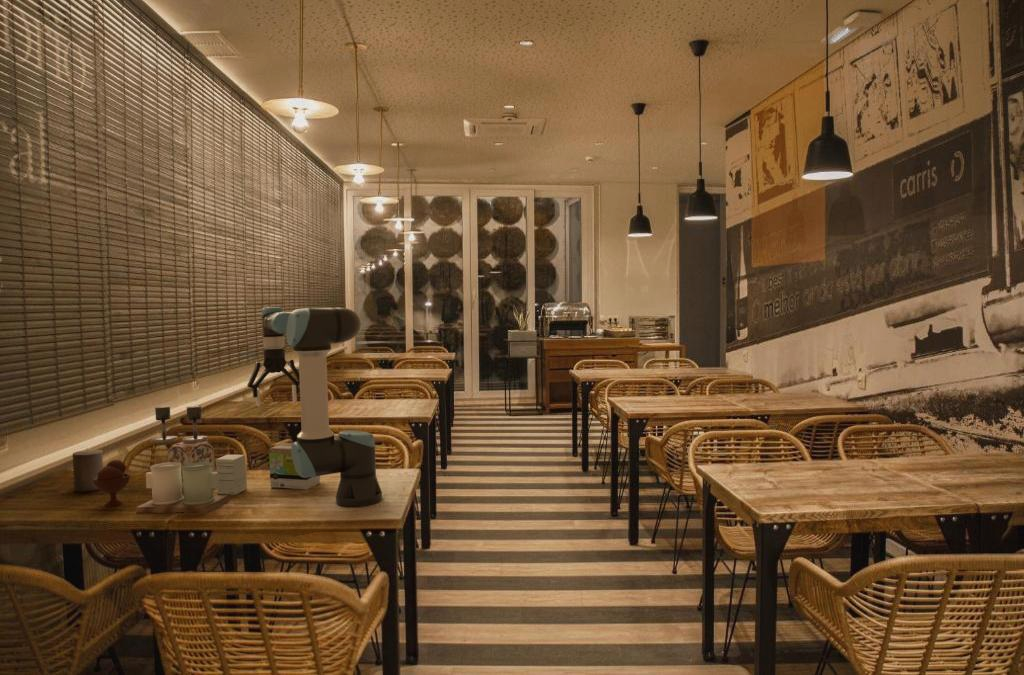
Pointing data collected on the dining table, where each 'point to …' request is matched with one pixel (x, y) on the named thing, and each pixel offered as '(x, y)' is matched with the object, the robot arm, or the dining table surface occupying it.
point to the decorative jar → (191, 454)
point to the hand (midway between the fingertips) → (276, 404)
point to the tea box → (287, 470)
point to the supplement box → (231, 474)
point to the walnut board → (182, 506)
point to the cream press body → (165, 483)
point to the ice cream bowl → (112, 480)
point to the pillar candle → (86, 469)
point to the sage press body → (199, 483)
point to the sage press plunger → (194, 425)
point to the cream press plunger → (163, 425)
